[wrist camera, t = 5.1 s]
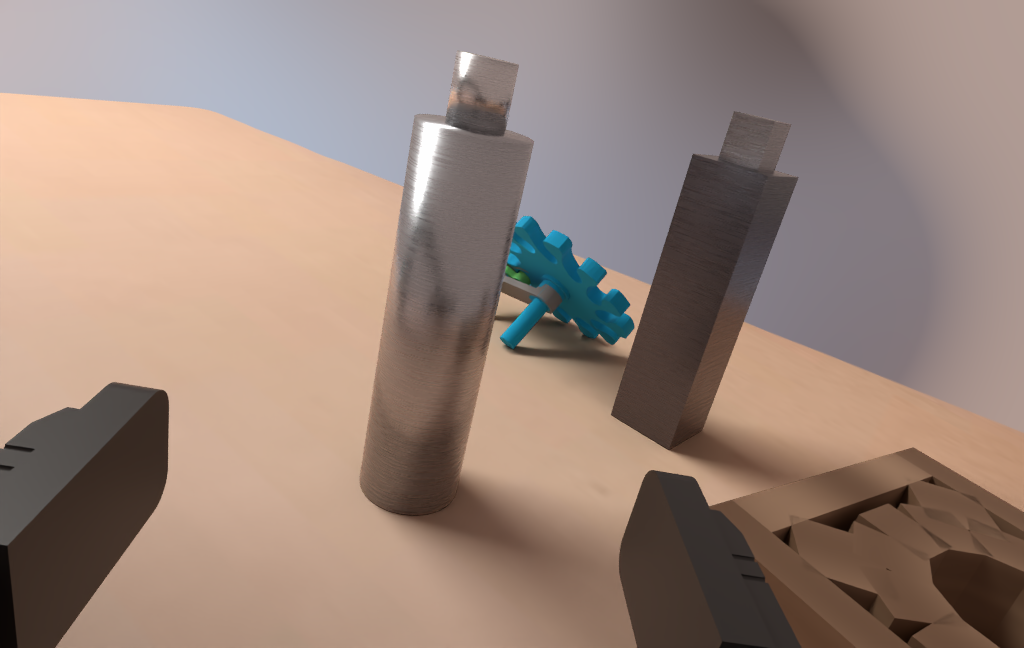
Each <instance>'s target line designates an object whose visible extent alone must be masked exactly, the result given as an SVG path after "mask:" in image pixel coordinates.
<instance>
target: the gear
mask: <svg viewBox="0 0 1024 648" xmlns="http://www.w3.org/2000/svg"><path fill="white" fill-rule="evenodd" d="M571 248H572V242H571V240H570V239H569V237H567V236H565V235H564V234H562V233H560V232H558V231H555V230H553V231H552V232H551V233H550V234H549V235H548V236H547V237H546V236H545V235H544V234H543V232H542V231H541V229H540V227H539V225H538V223H537V222H536V221H535V220H534V219H533V218H532V217H531V216H523V217H522V218H521V219H520V220H519V222H518V223H517V222H516V225H515V229H514V234H513V238H512V243H511V247H510V252H509V256H508V261H507V265H506V270H505V274H504V279H503V283H502V288H501V292H502V293H505V294H507V295H509V296H511V297H514V298H516V299H518V300H520V301H522V302H525V303H527V304H529V305H528V306H527V307H526V309H525V310H524V311H523V312H522V313H521V314H520V315H519V316H518V318H517V319H516V320H515V321H514V322H513V323H512V324H511V325H510V327H509V328H508V329H507V330H506V331H505V332H504V333H503V334H502V336H501V337H500V339H501V340H502V342H503V343H504V344H506V345H507V346H508V347H510V348H512V349H514V348H515V347H516V346H517V344H518V343H519V342H520V341H521V340H522V339H523V338H524V337H525V335H526V334H527V333H528V332H529V331H530V330H531V329H532V327H533V326H534V325H535V324H536V323H537V322H538V321H539V319H540V318H541V317H542V316H543V315H544V314H545V313H546V312H547V313H550V314H551V313H553V315H554V316H555V317H556V318H558V319H559V320H561V321H563V322H565V323H568V322H569V321H570V320H571V319H573V320H574V321H575V323H576V324H577V325H578V327H579V329H580V331H581V332H582V333H583V334H584V335H585V336H587V337H589V338H593V339H595V338H596V337H597V336H598V335H599V334H600V335H601V336H602V337H603V338H604V339H605V340H606V341H607V342H608V343H609V344H611V345H613V344H615V343H616V342H617V341H618V339H619V338H620V337H623V338H627V336H628V335H629V334H630V333H631V332H632V330H633V329H634V323H633V320H632V319H631V317H630V316H628V315H627V314H625V313H624V312H625V311H626V310H627V308H628V307H629V306H630V303H629V302H628V301H627V299H626V298H625V297H624V295H623V294H622V293H621V292H620V291H619V290H616V289H611V291H610V292H609V293H608V294H605V293H603V292H602V291H601V290H599V288H598V287H597V285H598V284H599V282H600V281H601V280H602V279H603V278H604V277H605V275H606V274H607V272H606V270H605V269H604V268H603V267H601V266H600V265H599V264H598V263H597V262H595V261H594V260H593V259H591V258H587V259H586V260H585V261H584V263H583V264H582V265H581V266H579V265H578V263H577V262H576V260H575V258H574V256H573V254H572V251H571Z"/></svg>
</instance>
